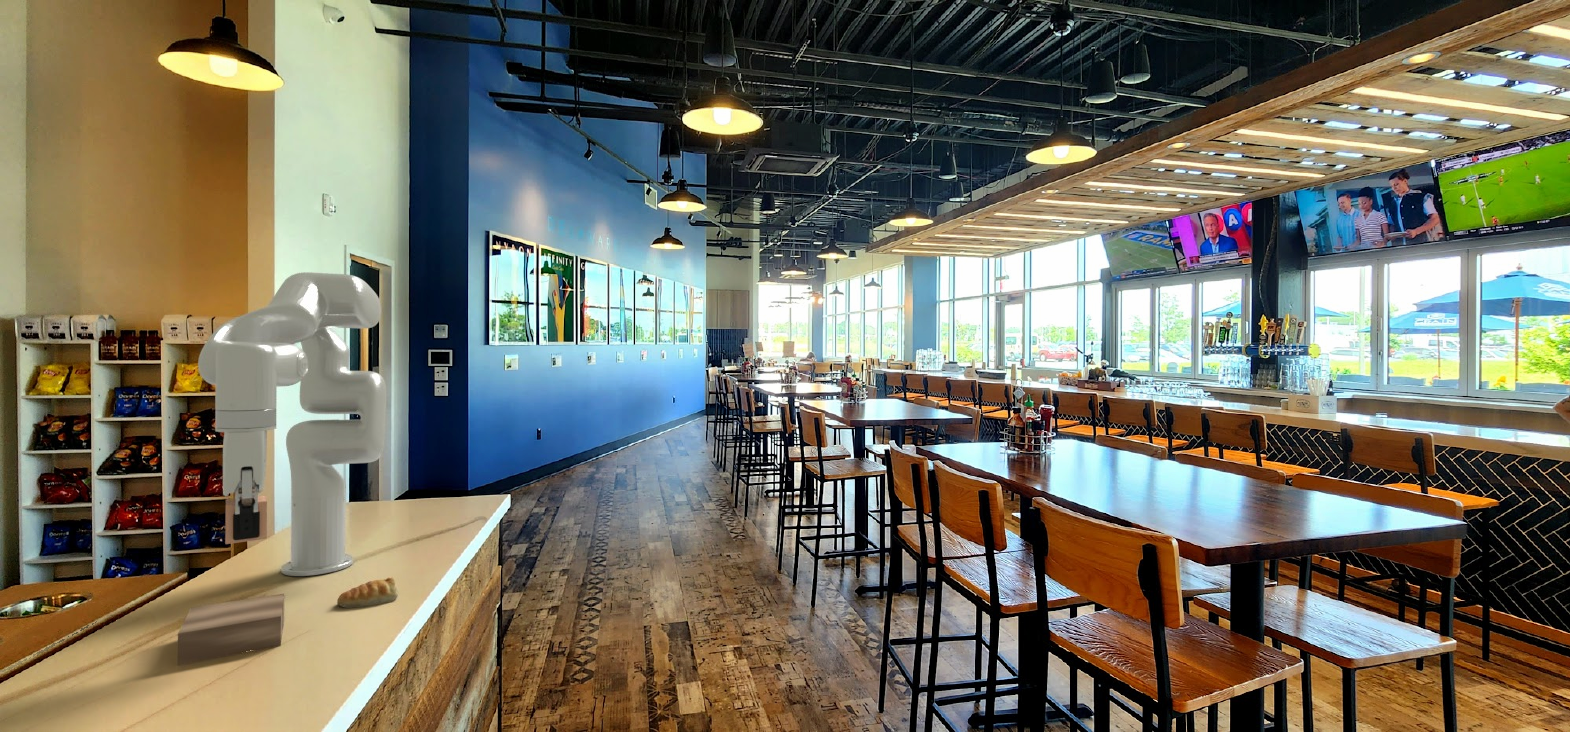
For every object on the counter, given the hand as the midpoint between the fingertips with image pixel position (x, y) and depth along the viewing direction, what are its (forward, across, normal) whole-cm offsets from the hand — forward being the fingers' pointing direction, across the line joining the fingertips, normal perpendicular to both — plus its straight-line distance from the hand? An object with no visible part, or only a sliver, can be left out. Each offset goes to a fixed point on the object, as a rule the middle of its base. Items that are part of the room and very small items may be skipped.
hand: (246, 533), depth 105 cm
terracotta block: (+1, 0, 0) cm, 1 cm away
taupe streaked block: (+18, -1, -1) cm, 18 cm away
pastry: (+18, -8, +18) cm, 27 cm away
